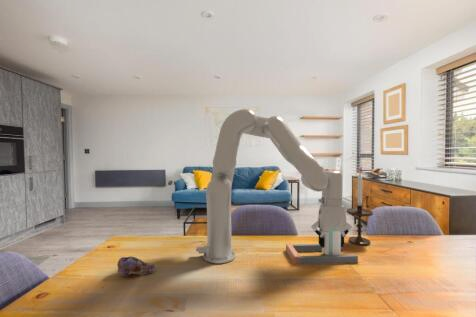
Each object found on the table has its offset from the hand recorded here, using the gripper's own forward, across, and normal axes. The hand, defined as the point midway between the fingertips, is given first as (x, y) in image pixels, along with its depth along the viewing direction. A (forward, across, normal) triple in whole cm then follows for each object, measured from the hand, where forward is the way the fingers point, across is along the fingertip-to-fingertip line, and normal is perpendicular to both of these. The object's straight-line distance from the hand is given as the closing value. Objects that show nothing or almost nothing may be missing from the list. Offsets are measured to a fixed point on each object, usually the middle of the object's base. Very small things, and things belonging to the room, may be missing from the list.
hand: (331, 245), depth 99 cm
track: (+4, -5, 0) cm, 6 cm away
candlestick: (+4, +19, +14) cm, 24 cm away
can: (+3, 0, 0) cm, 3 cm away
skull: (+5, -73, -10) cm, 74 cm away
